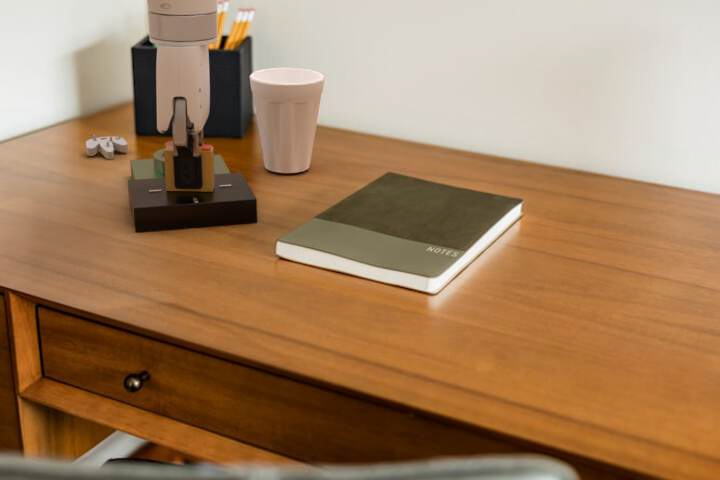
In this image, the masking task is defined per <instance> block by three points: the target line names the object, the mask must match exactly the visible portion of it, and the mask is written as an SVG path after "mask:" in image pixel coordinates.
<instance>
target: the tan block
mask: <svg viewBox="0 0 720 480" xmlns="http://www.w3.org/2000/svg"><path fill="white" fill-rule="evenodd" d="M164 149H165V150H164V161H165V178H166V191H200V192H213V190H214V187H215V177H214V155H215V153H214V149H215V148H214V146H213V145H212V144H203V146H199V155H202V180H203V186H202V188H201V189H177V188H175V183H174V164H173V155H174V151H173V146H166V148H165V147H164Z"/></svg>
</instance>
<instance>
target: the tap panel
mask: <svg viewBox="0 0 720 480" xmlns="http://www.w3.org/2000/svg"><path fill="white" fill-rule="evenodd" d="M214 177H215V187H214V190H213V192H200V191H166V178H151V179H137V180H132V179H127V191H128V204H129V209H130V212H131V218H132V222H133V228H134V232H135V233H147V232H160V231H170V230H183V229H194V228H207V227H217V226H229V225H230V226H231V225H241V224H242V225H243V224H255V223H258V199H257V197H256V195H255V194H254V192H253V190H252V188H251V187H250V185H249V183H248V182H247V180H246V178H245V176H244V175H243V173H242V172H230V173H226V174H214Z"/></svg>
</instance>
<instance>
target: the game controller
mask: <svg viewBox="0 0 720 480" xmlns="http://www.w3.org/2000/svg"><path fill="white" fill-rule="evenodd" d="M91 137H92V138H90V139H87V140H86V141H85V151H86V155H87V156H89V157H90V156H91V157H92V156H95V155H96V154H98V152H99V153H100V154H101V155H102V156H103V157H104V158H105V159H106V160H113V159H114V158H115V156H114V155H115V154H114V153H115V152H114V150H115V151H116V152H119V153H127V152H128V148H129V147H128V142H127V141H126V140H125V139H124V138H123V137H121V136H117V135H116V136H112V135H111V136H99V137H97V136H96V135H95V134H94V133H92V134H91Z"/></svg>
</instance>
